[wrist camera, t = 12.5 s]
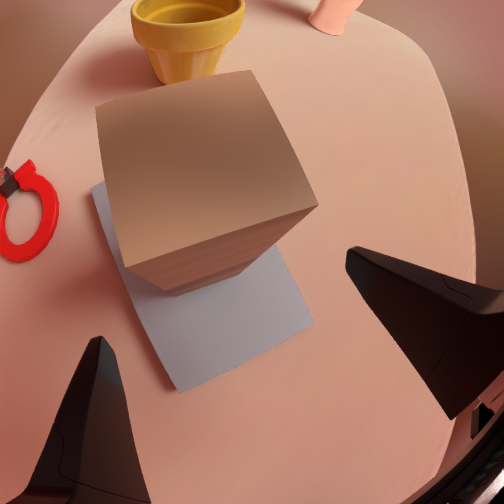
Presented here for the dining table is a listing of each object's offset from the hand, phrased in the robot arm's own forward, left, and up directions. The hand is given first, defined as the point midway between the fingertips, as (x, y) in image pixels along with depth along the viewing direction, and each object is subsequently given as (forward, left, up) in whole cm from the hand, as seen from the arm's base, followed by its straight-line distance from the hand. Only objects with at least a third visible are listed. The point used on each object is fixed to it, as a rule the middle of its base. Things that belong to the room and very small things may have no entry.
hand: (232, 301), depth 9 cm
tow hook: (+15, +13, -14) cm, 24 cm away
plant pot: (+24, -7, -14) cm, 29 cm away
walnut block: (+4, -1, -12) cm, 13 cm away
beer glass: (+30, -32, -14) cm, 46 cm away
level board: (+4, 0, -13) cm, 14 cm away
